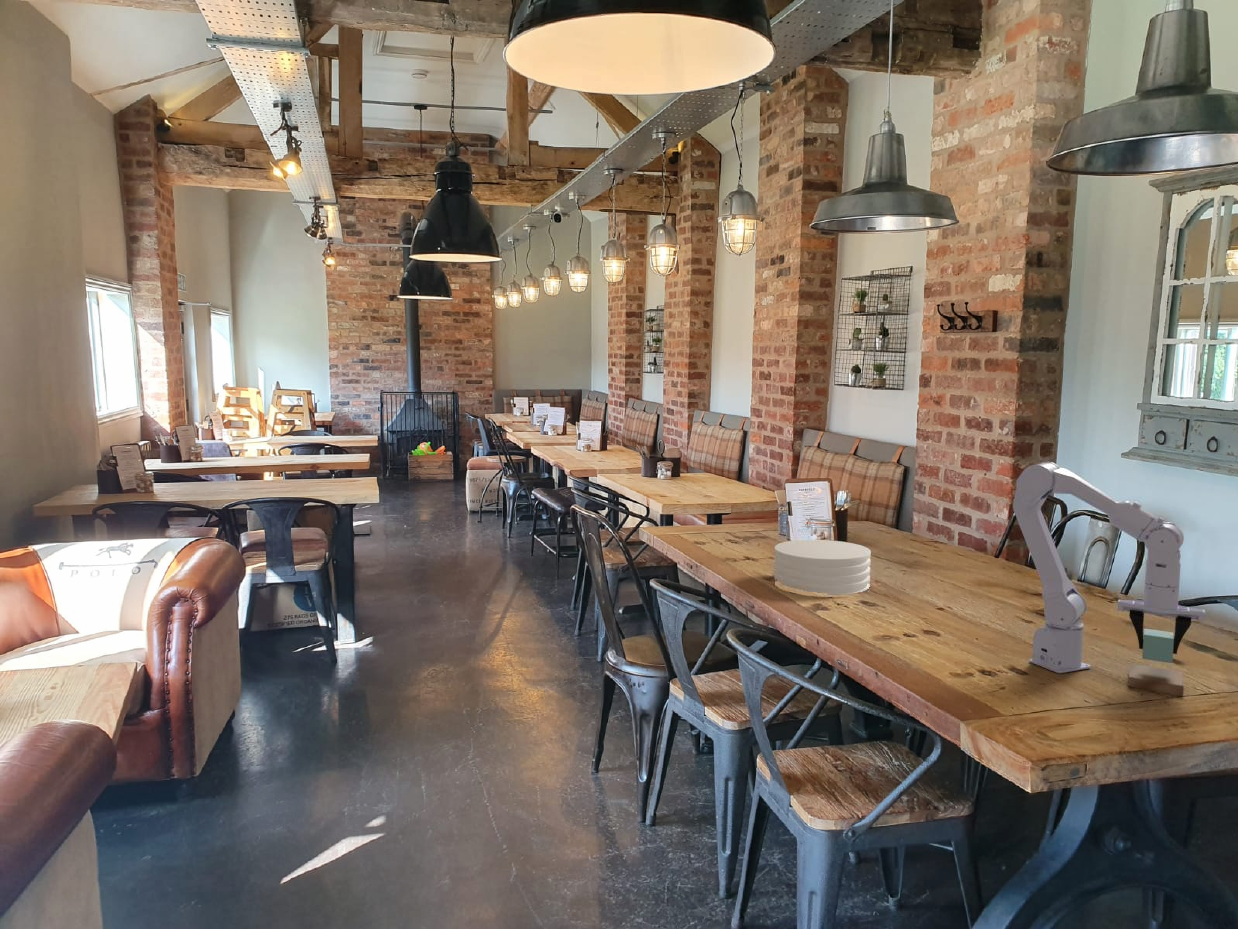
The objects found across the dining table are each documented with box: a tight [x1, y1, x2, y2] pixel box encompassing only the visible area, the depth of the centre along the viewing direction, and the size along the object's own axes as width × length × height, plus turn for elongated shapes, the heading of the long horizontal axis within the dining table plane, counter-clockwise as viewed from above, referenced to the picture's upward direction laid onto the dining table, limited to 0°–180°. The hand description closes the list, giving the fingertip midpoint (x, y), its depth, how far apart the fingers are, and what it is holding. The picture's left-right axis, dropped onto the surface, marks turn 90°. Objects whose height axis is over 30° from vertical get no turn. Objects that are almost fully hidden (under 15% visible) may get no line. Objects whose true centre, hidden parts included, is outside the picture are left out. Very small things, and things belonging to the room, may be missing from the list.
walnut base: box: [1128, 663, 1185, 697], centre depth 164 cm, size 9×9×2 cm
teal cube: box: [1141, 628, 1175, 664], centre depth 164 cm, size 5×5×5 cm
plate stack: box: [773, 539, 872, 595], centre depth 243 cm, size 28×28×12 cm
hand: (1157, 650), depth 163 cm, fingers closed on teal cube, 5 cm apart
